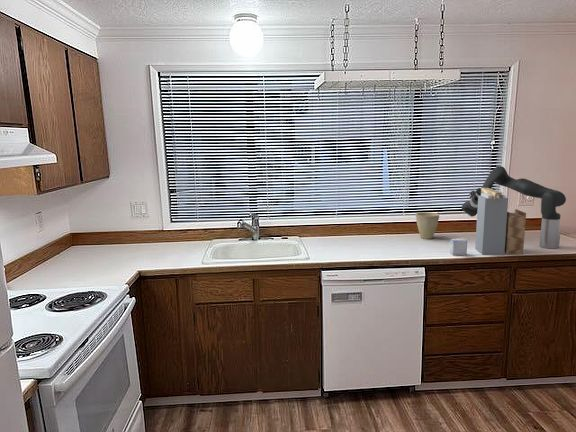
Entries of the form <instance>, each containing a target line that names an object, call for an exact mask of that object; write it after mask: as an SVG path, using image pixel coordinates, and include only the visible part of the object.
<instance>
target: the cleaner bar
mask: <svg viewBox="0 0 576 432" xmlns="http://www.w3.org/2000/svg"><path fill="white" fill-rule="evenodd" d="M481 193H486V194H489V195H492V198H494V199H503V195H504V194H503V192H501V191H499V190H493V189H490V188H482V190H481Z"/></svg>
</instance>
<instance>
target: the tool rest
mask: <svg viewBox="0 0 576 432" xmlns="http://www.w3.org/2000/svg"><path fill="white" fill-rule="evenodd" d="M526 218H527V213H526V212H524V211H522V210H519V209H517V208H515V209H514V212H510V211H507V222H506V236H505V250H504V255H524V249H525V248H524V246H525V233H526V222H527V219H526Z"/></svg>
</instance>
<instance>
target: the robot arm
mask: <svg viewBox="0 0 576 432" xmlns="http://www.w3.org/2000/svg"><path fill="white" fill-rule="evenodd" d="M494 184H496V185H499V186H501V187H506V188H508V189H511V190H513V191H515V192H517V193H520V194H522V195H524V196H527V197H532V198H535V199H536V198H537V199H540V200H541V203H540V213H541V223H540V224H541V227H540V237H539V247H541V248H544V249H557V248H560V245H561V244H560V242H561V241H560V240H561V231H560V225H561V214H560V213H559V212H557V209H556V208H557V207H561V206H563V205H565V203H566V201H567V198H566V195H565V194H564V193H563V192H562V191H559V190H556V189H552V188H549V187H547V186H546V187H545V186H543V185H541V184H539V183H536V182H534V181H532V180H530V179H527V178H522V177H521V178H517V179H516V178H513V177H511V176H510V175H509V174H508V171H507V170H506V168H505V167H504V166H501V165H500V166H496V167H494V168H492V170H491V171H490V173H489V175H488V177H487V178H486V179H485V181H484V182H483V184H482V186H481V187H478V188H477V189H475V190H471V191H470V192H469V194H468V195H469V199H470V200H467V201H466V202H464V203H463V204H462V205H461V210H462V211H463V212H465V213H466V215H468V216H470V217H472V218H473V217H475V216H477V209H478V196H481V190H482V188H490V189H493V190H495V187H493V186H494Z"/></svg>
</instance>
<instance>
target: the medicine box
mask: <svg viewBox="0 0 576 432" xmlns="http://www.w3.org/2000/svg"><path fill="white" fill-rule="evenodd" d="M449 248H450V250H449V253H450V255H452V256H467V254H468V252H467V251H468V239H466V238H451V239H450V247H449Z"/></svg>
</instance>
